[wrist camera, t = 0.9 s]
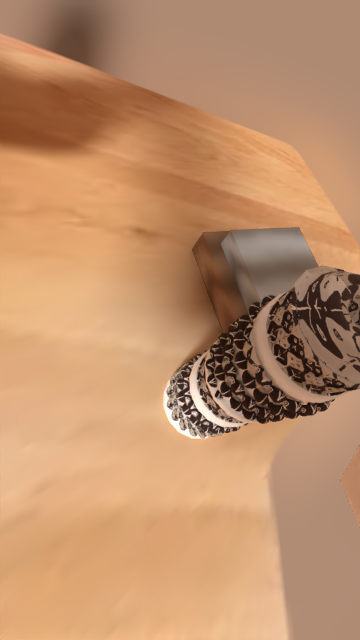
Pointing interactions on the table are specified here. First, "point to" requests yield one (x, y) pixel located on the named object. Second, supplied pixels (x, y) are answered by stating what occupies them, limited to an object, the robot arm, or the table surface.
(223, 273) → the tower base
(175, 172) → the table surface
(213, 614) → the table surface
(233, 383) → the patterned studded column
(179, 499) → the table surface
